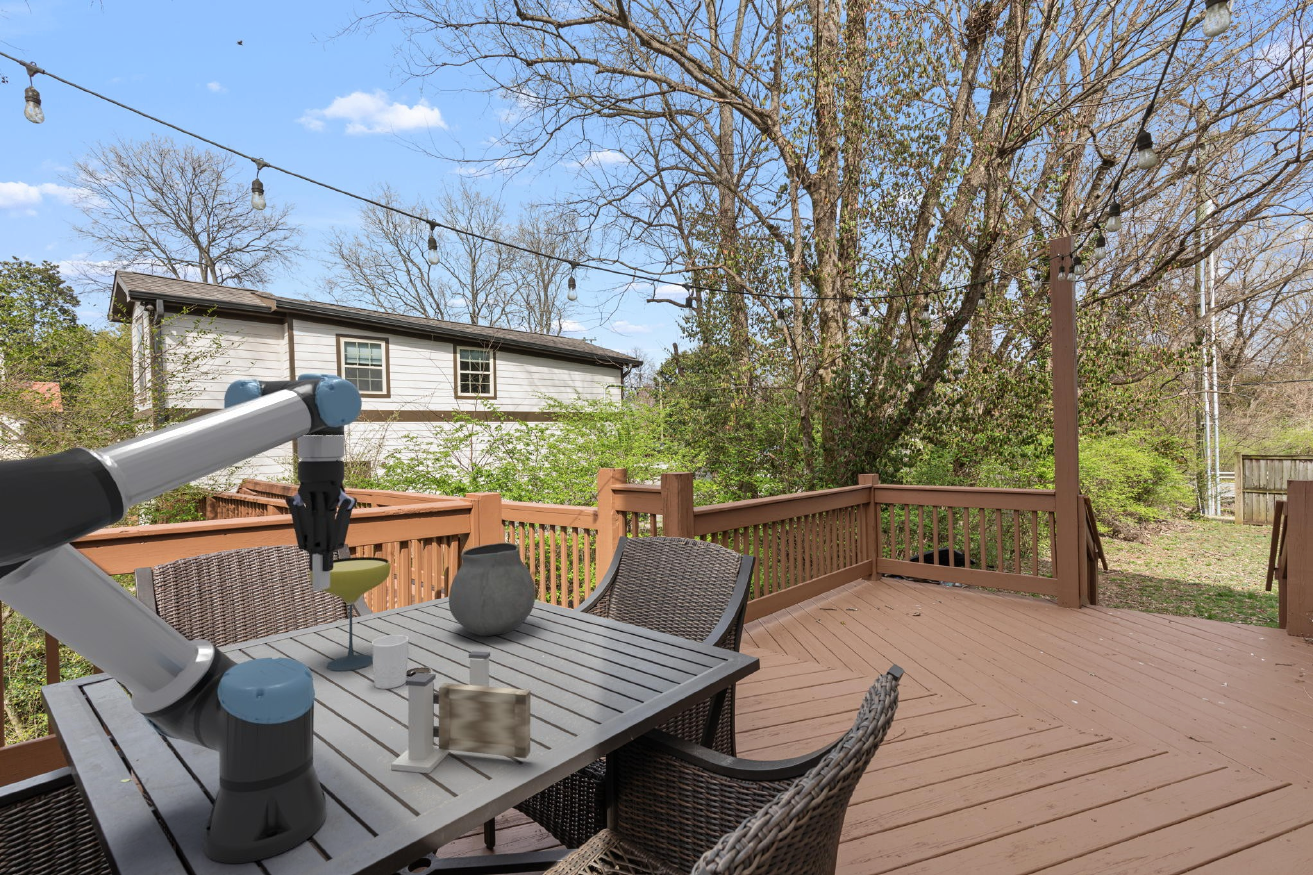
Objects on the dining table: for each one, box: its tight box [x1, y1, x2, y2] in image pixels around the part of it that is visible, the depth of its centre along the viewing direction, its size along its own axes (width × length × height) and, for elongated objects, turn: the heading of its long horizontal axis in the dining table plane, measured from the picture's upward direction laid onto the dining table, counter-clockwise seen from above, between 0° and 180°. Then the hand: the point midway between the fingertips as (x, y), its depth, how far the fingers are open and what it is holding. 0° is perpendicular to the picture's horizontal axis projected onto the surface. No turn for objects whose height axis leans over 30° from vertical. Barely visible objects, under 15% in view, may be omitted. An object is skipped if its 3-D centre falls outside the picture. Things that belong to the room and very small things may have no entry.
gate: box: [433, 682, 531, 759], centre depth 111 cm, size 20×2×11 cm, turn 79°
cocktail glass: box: [309, 556, 391, 672], centre depth 157 cm, size 18×18×25 cm
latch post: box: [468, 650, 491, 687], centre depth 134 cm, size 6×6×11 cm
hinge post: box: [390, 672, 450, 774], centre depth 110 cm, size 7×7×15 cm
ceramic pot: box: [448, 542, 536, 637], centre depth 182 cm, size 24×24×25 cm
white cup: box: [371, 634, 410, 690], centre depth 145 cm, size 8×8×10 cm
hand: (321, 588), depth 114 cm, fingers closed
